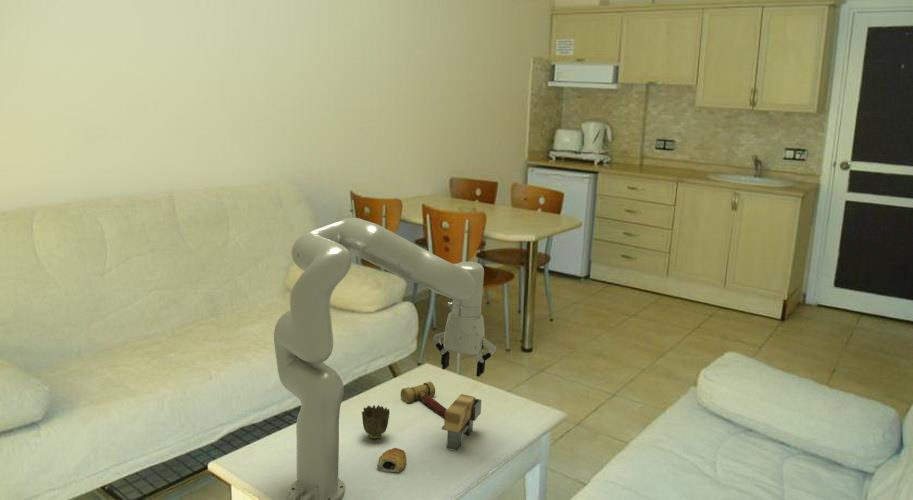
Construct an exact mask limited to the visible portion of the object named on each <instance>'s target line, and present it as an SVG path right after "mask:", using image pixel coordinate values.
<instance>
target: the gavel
mask: <svg viewBox="0 0 913 500" xmlns="http://www.w3.org/2000/svg"><path fill="white" fill-rule="evenodd" d="M435 395H436V386H435V385H434V383H433V382H432V381H427V382H424V383H423V384H419V385H416V386H415V385H414V386H411V387H410V386H408V387H403V388H402V389H401V390H400V397H401V400H402V402H404V403H405V404H409V403H413V402H414V401H417V400H421V401H422V402H423V403H424V404H425V405H426V406H428V407H429V408H430V409H432V410H433V411H434V412H435V413H437V414H438V415H439V416H441V417H442V418H443V419H444V420H445V411H446V410H447V409H448V408H446V407H445V406H443V405H442V404H440V403H439V402H438V401H437V400H435V399H434V398H433V397H434V396H435Z"/></svg>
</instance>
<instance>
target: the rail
mask: <svg viewBox="0 0 913 500" xmlns="http://www.w3.org/2000/svg"><path fill="white" fill-rule="evenodd" d="M475 399H476V397H475V396H472V395H467V394H463V393H461V394H460V395H458V397H457V398H456V399H455V400H454V401H453V402H452V403H451V404H450V406H449V407H447V408H446V409H447V410H446V411H445V419H444V423H443V424H444V429H446V430H445V431H447V430H450V431H454V432H459V431H460V430H461V429H462V427H463V426H464V425H465V424H466V423H467V421H468V420H469V419H470V418H471V417H472V415H473V407H474V404H475Z"/></svg>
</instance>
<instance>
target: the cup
mask: <svg viewBox="0 0 913 500" xmlns="http://www.w3.org/2000/svg"><path fill="white" fill-rule="evenodd" d="M387 408H388V407H384V406H383V405H381V406H380V405H379V404H378V405H377V406H376V405H375V404H374V405H372V406H371V405H368V406H366V407H363V411H361V415H362V417H361V418H362V424H363V430H364V432H366V433H367V434H368V439H370V440H371V441H379V440H380V439H382V436H383V434H384V433H385V432H386V431H387V428H388V425H389V419H390V408H388V409H387Z"/></svg>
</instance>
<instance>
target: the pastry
mask: <svg viewBox="0 0 913 500" xmlns="http://www.w3.org/2000/svg"><path fill="white" fill-rule="evenodd" d="M406 453H407V452H405V450H404V449H401V448H397V447H392V448H390V449H387V450H385V451H384V452H383V453H382V454H381V455H380V456H379V457H378V461H377V462H378V463H377V465H376V468H377V469H378V470H379V471H381V472H386V473H400V472H402V471H403V470H404V468H405V467H406V463H407V455H406Z"/></svg>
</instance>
